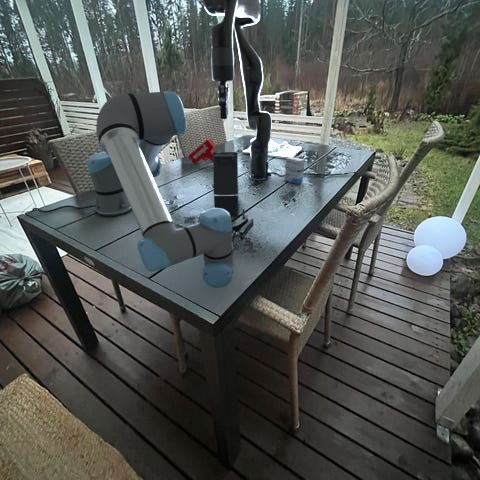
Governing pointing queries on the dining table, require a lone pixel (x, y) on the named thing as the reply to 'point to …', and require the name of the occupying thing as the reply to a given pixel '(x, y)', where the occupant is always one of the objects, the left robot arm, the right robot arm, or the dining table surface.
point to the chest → (227, 203)
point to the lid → (225, 173)
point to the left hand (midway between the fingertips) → (224, 212)
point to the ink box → (294, 170)
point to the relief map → (280, 150)
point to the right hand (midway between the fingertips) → (224, 117)
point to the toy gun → (203, 152)
